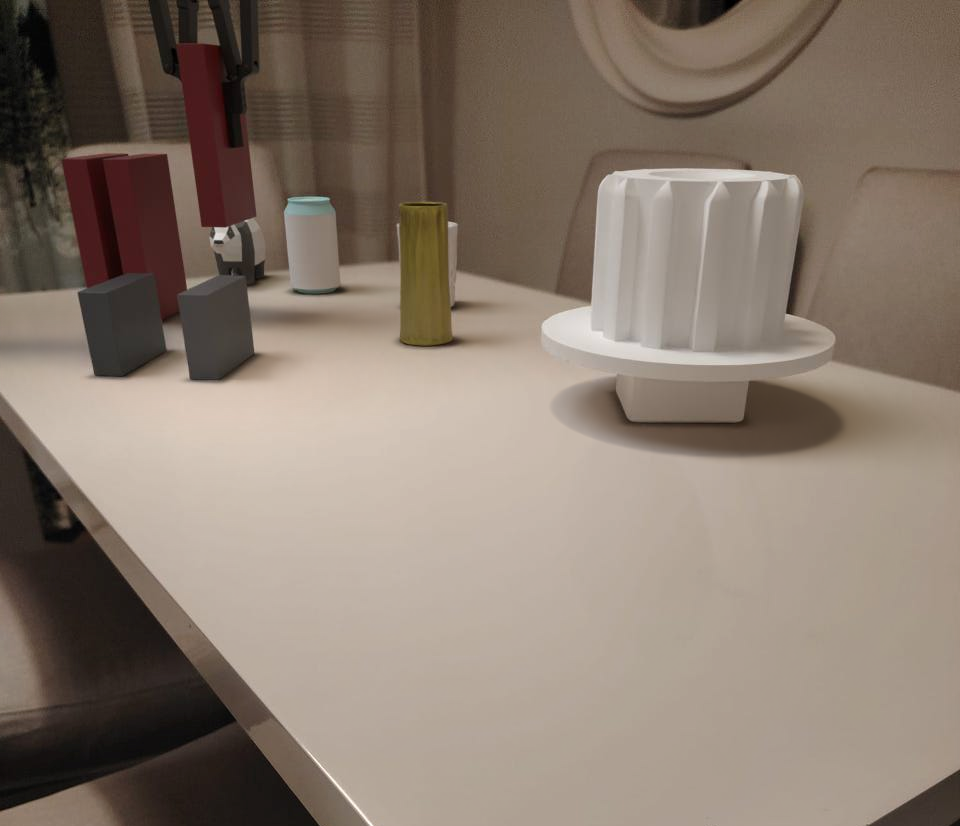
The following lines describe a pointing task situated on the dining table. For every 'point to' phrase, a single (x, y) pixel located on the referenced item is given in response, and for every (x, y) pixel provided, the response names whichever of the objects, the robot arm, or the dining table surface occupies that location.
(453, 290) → the white cup
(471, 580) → the dining table surface
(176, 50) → the robot arm
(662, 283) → the flanged gear
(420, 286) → the vase
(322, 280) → the can
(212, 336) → the grey bookends
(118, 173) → the burgundy books
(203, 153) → the burgundy book
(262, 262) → the giant panda
